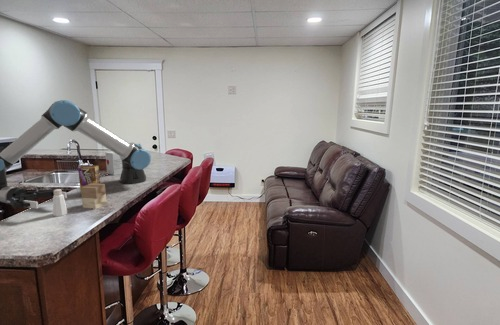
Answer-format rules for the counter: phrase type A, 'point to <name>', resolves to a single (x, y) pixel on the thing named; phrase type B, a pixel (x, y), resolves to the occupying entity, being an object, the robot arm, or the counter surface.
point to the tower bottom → (94, 202)
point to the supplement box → (113, 163)
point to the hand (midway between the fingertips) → (52, 199)
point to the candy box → (88, 175)
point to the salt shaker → (59, 203)
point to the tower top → (93, 190)
